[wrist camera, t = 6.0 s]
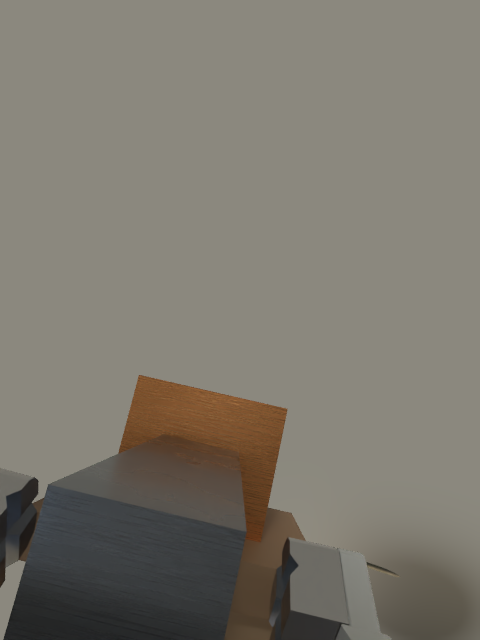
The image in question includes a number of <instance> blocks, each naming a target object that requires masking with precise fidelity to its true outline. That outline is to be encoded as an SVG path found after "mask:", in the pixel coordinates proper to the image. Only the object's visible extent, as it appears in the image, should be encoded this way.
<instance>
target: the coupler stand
mask: <svg viewBox="0 0 480 640" xmlns="http://www.w3.org/2000/svg"><path fill="white" fill-rule="evenodd" d="M43 501H44V498H43V499H41V500H39V501H37V502H34V503H32V504H33V505H34V507H35V509H36V510H37V519H36V524H35V529H36V525H37V522H38V518H39V515H40V512H41V508H42V505H43ZM35 529H34V532H35ZM33 536H34V533H33V535H32V537H31V539H30V542H29V544H28V546H27V548H26V550H25V551H24V553H23V554H22V556H21V557H20V559H19V560H21V561H25V562H26V560H27V556H28V553H29V550H30V546H31V543H32V539H33ZM287 537H290V538H295V539H299V540H304V541H306V540H305V538H304V537H303V535H302V533H301V531H300V529H299V527H298V525H297V523H296V521H295V519H294V517H293V515H292V513H288V512H284V511H280V510H276V509H271V508H267V513H266V518H265V523H264V528H263V532H262V537H261V542H256V541H252V540H248V539H245V542H244V547H243V552H242V556H241V561H240V566H239V571H238V576H237V580H236V585H235V590H234V595H233V600H232V604H231V609H230V614H229V619H228V623H227V628H226V633H225V638H224V640H269V639H270V636H271V633H272V629H273V628H272V626H271V624H270V622H269V608H270V597H271V591H272V586H273V581H274V577H275V574H276V570H277V568H278V567H280V566H281V565H282V550H283V547H284V544H285V541H286V539H287Z"/></svg>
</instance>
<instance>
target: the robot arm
mask: <svg viewBox="0 0 480 640" xmlns="http://www.w3.org/2000/svg"><path fill="white" fill-rule="evenodd" d="M37 494H38V480H37V479H36V478H35V477H31V476H28V475H24V474H20V473H16V472H12V471H8V470H4V469H1V468H0V587H1V585H2V584H3V582H4V581H5V568H6V567H8V566H9V565H11V564H13V563H15V562H16V561H18V560H19V559H20V557H21V556H22V554H23V553H24V551H25V550H26V548H27V546H28V544H29V542H30V539H31V537H32V535H33V533H34V529H35V524H36V519H37V510H36V509H35V507H34V505H33V504H32V501H33V500H34V498H35V497H36V496H37ZM269 622H270V624H271V626H272V628H273V629H272V633H271V636H270V639H269V640H392V639H391V638H390V636H389V635H385V634H381V632H380V627H379V622H378V617H377V613H376V608H375V603H374V598H373V593H372V588H371V583H370V578H369V573H368V569H367V564H366V559H365V557H364V555H363V554H362V553H358V552H353V551H349V550H344V549H339V548H337V549H336V548H335V547H330V546H326V545H321V544H317V543H312V542H308V541H304V540H299V539H295V538H290V537H287V539H286V541H285V544H284V547H283V550H282V565H281V566H280V567H278V568H277V570H276V574H275V577H274V581H273V586H272V591H271V597H270V608H269Z"/></svg>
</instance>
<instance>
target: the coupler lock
mask: <svg viewBox="0 0 480 640" xmlns="http://www.w3.org/2000/svg"><path fill="white" fill-rule="evenodd" d="M286 414H287V409H285V408H281V407H276V406H272V405H268V404H264V403H259V402H255V401H250V400H246V399H242V398H238V397H233V396H229V395H224V394H220V393H215V392H211V391H207V390H203V389H198V388H194V387H189V386H185V385H181V384H176V383H172V382H167V381H163V380H159V379H154V378H150V377H146V376H142V375H139V377H138V381H137V385H136V389H135V392H134V397H133V400H132V404H131V407H130V411H129V415H128V419H127V423H126V426H125V431H124V434H123V438H122V441H121V445H120V449H119V453H118V454H117V455H115V456H112V457H110V458H108V459H106V460H103V461H101V462H99V463H96V464H94V465H92V466H90V467H87V468H85V469H83V470H80V471H78V472H76V473H74V474H71V475H69V476H67V477H64V478H62V479H60V480H58V481H55V482H53V483H51V484H48V487H47V491H46V495H45V498H44V501H43V505H42V508H41V512H40V515H39V518H38V522H37V525H36V529H35V532H34V536H33V539H32V543H31V546H30V550H29V553H28V556H27V560H26V563H25V567H24V570H23V574H22V577H21V581H20V584H19V588H18V591H17V594H16V598H15V601H14V605H13V608H12V612H11V615H10V619H9V622H8V626H7V629H6V633H5V636H4V640H224V638H225V633H226V628H227V623H228V619H229V614H230V609H231V604H232V600H233V595H234V590H235V585H236V580H237V576H238V571H239V566H240V561H241V556H242V552H243V547H244V542H245V539H248V540H252V541H256V542H261V537H262V532H263V528H264V523H265V518H266V513H267V508H268V503H269V498H270V492H271V488H272V483H273V478H274V473H275V468H276V463H277V458H278V454H279V448H280V444H281V439H282V434H283V429H284V423H285V419H286Z"/></svg>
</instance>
